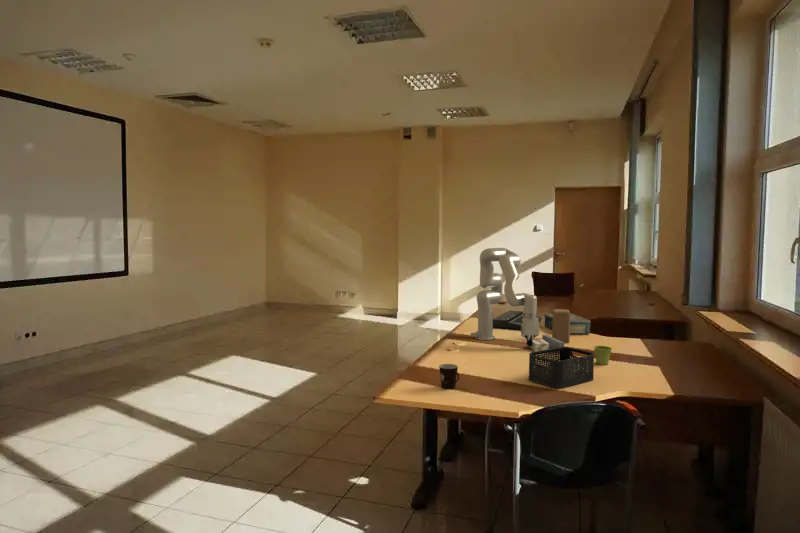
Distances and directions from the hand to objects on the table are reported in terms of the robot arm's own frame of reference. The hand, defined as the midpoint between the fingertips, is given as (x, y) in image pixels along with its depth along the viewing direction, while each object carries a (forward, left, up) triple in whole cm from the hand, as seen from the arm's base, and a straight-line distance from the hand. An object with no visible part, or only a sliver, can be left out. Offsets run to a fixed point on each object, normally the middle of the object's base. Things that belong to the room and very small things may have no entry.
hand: (529, 346), depth 323 cm
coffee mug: (-68, -62, -2) cm, 92 cm away
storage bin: (-11, -60, -3) cm, 61 cm away
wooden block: (+29, +17, -2) cm, 34 cm away
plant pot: (+25, -37, -2) cm, 45 cm away
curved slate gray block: (+15, 0, -2) cm, 15 cm away
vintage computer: (+24, +75, -3) cm, 79 cm away
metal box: (+49, +47, -3) cm, 68 cm away
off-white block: (+6, 0, -3) cm, 7 cm away
